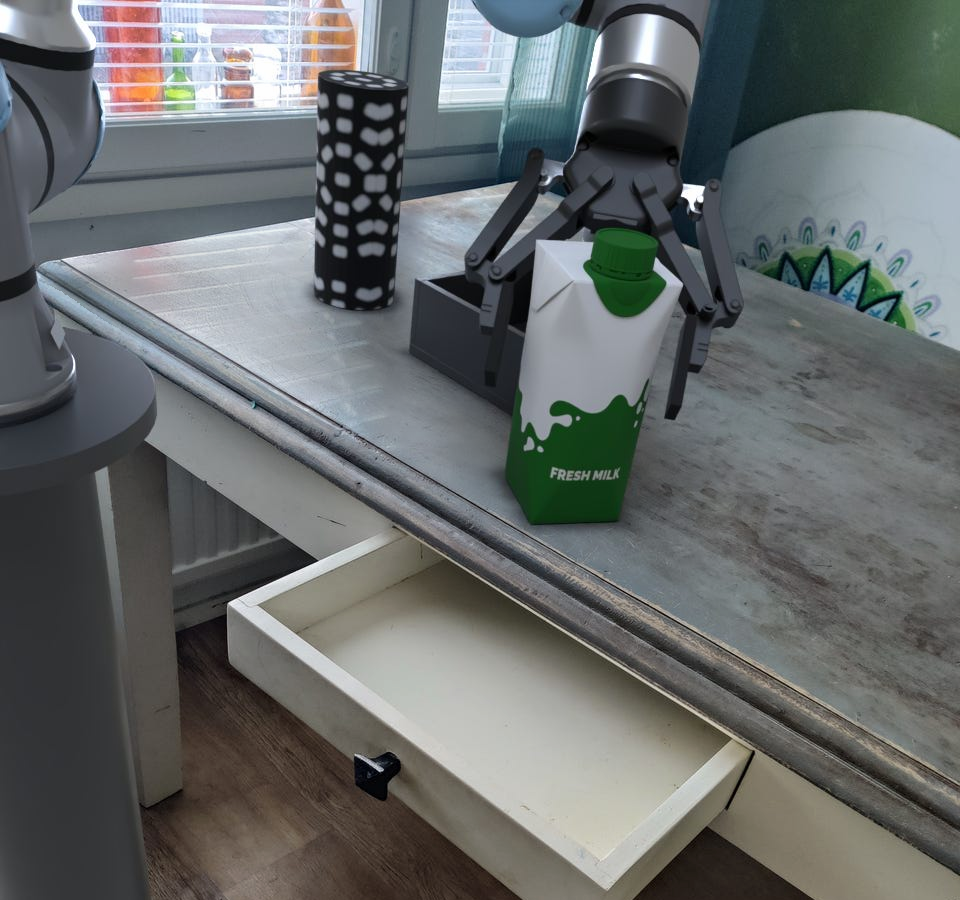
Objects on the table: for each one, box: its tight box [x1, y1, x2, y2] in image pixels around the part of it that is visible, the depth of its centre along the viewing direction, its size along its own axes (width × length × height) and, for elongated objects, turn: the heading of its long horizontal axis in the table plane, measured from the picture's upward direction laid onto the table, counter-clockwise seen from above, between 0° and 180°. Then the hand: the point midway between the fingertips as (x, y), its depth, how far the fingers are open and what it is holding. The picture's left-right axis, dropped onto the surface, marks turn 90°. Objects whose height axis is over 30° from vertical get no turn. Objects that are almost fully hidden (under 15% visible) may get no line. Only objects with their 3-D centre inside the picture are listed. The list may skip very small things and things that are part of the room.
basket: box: [408, 267, 534, 417], centre depth 91 cm, size 16×16×7 cm
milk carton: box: [503, 228, 683, 525], centre depth 69 cm, size 9×9×20 cm
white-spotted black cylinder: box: [313, 69, 410, 311], centre depth 97 cm, size 8×8×20 cm
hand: (580, 396), depth 67 cm, fingers open, 12 cm apart
